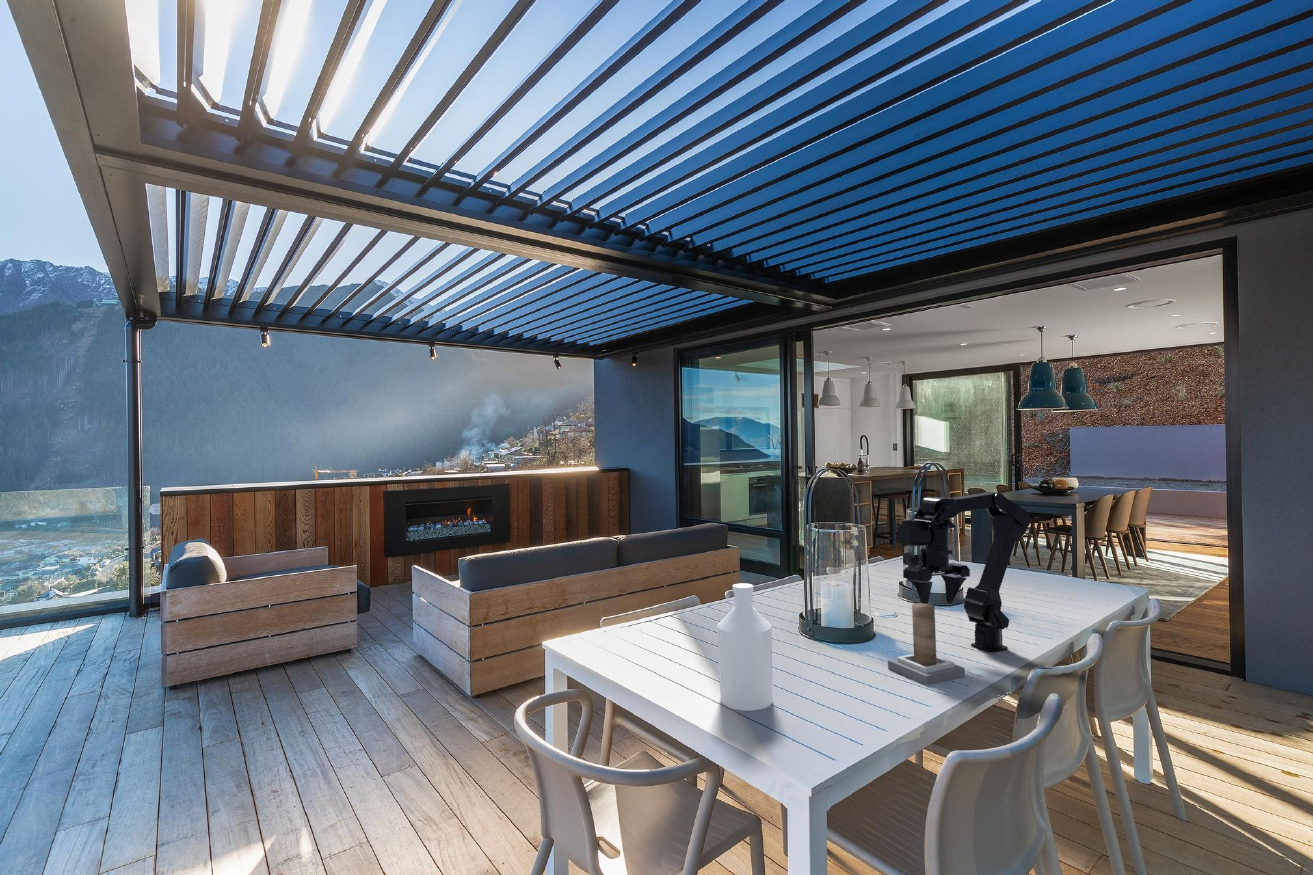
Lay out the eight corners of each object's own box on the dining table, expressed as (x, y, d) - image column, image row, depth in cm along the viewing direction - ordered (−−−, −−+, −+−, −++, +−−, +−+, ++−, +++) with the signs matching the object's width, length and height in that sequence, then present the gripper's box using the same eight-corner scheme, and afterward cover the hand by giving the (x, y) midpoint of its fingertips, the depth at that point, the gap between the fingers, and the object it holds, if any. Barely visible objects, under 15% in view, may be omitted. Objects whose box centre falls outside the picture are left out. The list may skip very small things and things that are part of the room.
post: (916, 658, 150) (914, 602, 151) (938, 662, 148) (936, 604, 148) (912, 665, 146) (910, 606, 146) (934, 668, 143) (932, 609, 144)
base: (924, 660, 155) (924, 648, 155) (964, 676, 143) (964, 663, 144) (888, 668, 150) (887, 656, 150) (926, 685, 139) (926, 671, 139)
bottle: (708, 700, 133) (705, 586, 134) (741, 685, 142) (738, 577, 142) (752, 716, 125) (748, 594, 126) (784, 698, 133) (781, 584, 134)
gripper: (935, 539, 171) (935, 595, 170) (886, 543, 163) (886, 601, 162) (971, 544, 161) (971, 604, 160) (921, 548, 153) (921, 611, 152)
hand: (936, 604), depth 159 cm, fingers open, 9 cm apart
